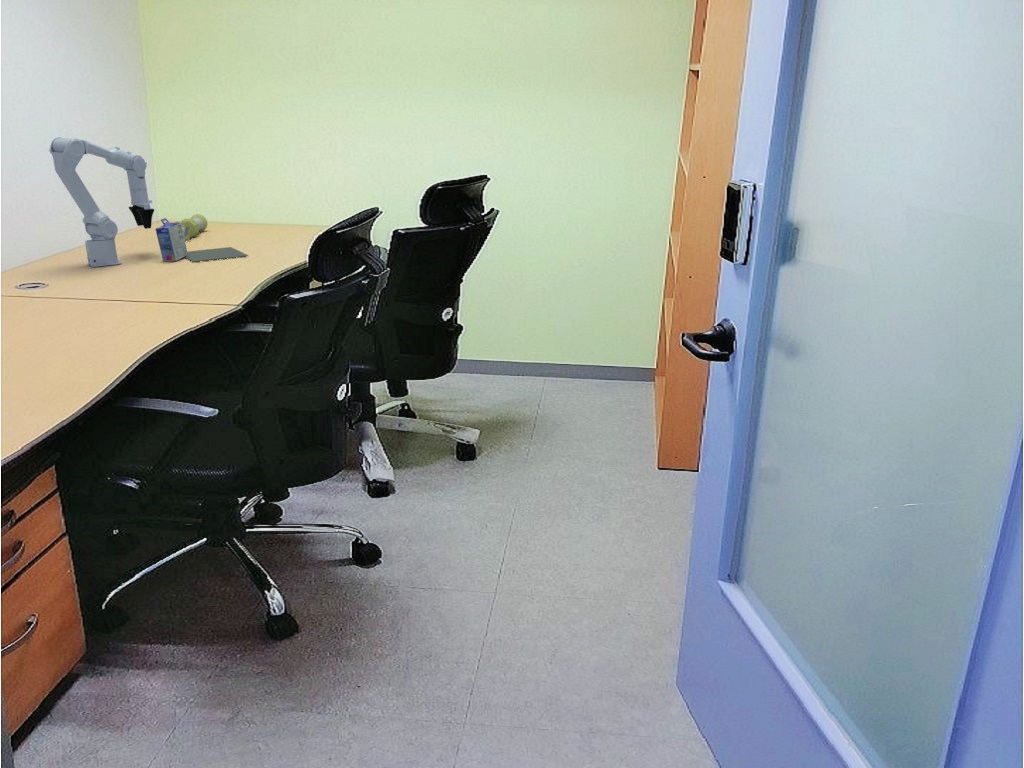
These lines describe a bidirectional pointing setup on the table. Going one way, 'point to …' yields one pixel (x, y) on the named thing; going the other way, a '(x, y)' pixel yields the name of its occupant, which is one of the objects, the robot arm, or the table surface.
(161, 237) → the ink cartridge box
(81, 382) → the table surface
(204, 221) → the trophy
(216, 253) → the desk mat
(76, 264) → the table surface
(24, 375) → the table surface
